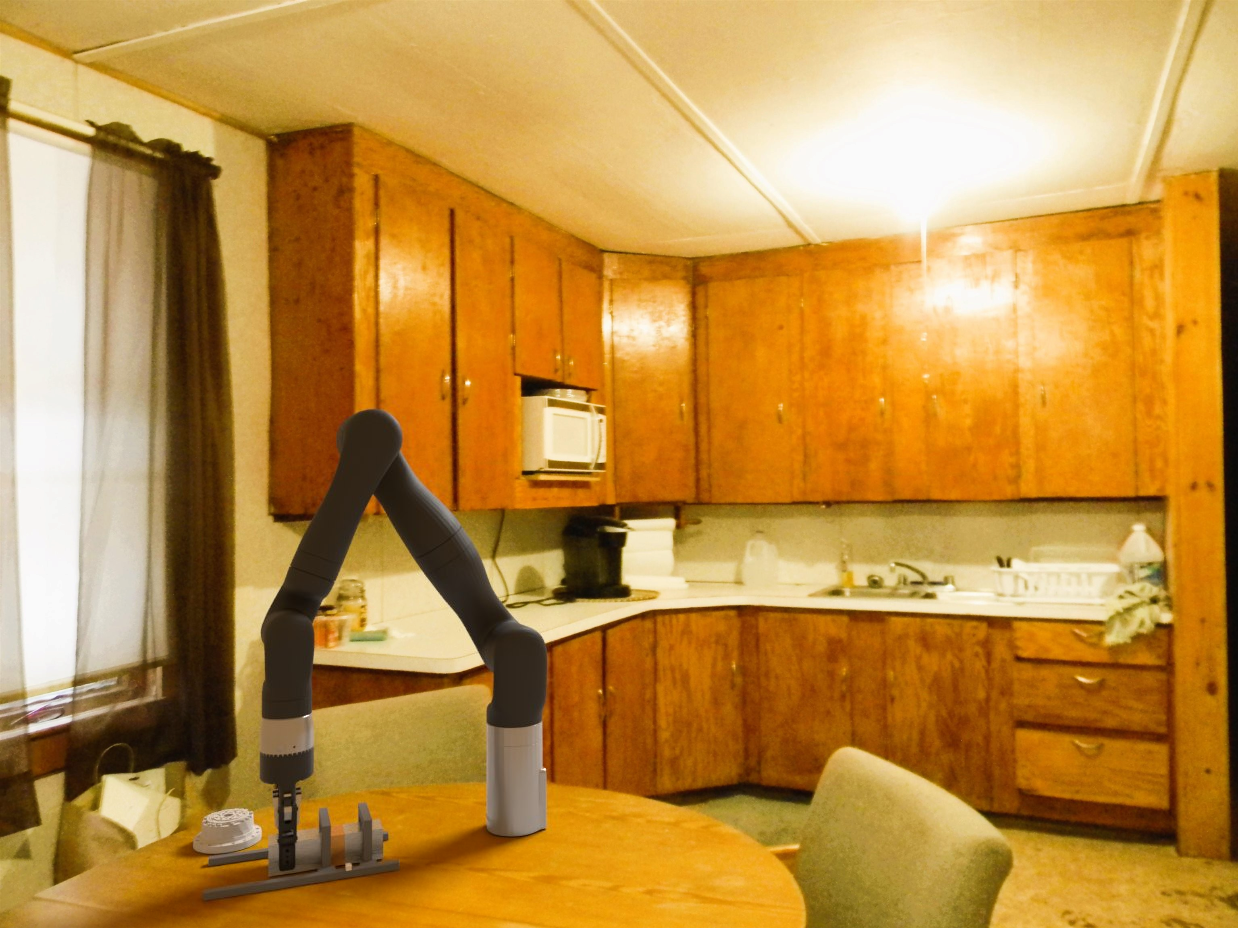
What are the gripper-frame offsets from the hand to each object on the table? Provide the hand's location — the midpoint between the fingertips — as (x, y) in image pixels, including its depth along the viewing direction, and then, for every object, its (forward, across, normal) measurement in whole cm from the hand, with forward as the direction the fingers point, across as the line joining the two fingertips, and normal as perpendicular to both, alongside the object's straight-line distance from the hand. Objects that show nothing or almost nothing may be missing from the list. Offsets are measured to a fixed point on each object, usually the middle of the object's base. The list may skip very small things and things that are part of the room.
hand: (286, 862), depth 129 cm
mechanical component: (+1, +15, +8) cm, 17 cm away
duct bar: (+1, 0, -6) cm, 6 cm away
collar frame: (+1, 0, -2) cm, 2 cm away
